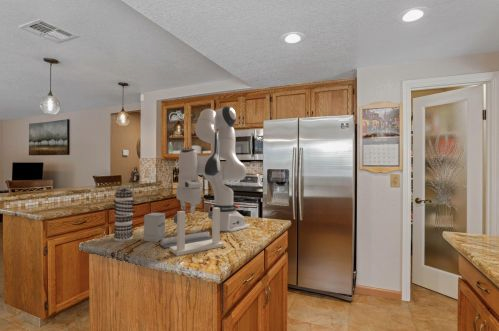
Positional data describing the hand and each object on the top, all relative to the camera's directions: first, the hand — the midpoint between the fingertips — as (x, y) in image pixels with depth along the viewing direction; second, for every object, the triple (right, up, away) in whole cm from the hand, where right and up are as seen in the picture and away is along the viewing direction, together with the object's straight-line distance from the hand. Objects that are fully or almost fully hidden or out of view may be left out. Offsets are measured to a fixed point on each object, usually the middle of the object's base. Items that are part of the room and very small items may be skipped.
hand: (187, 211), depth 127 cm
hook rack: (+6, -15, -9) cm, 19 cm away
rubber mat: (0, -15, 0) cm, 15 cm away
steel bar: (0, -14, 0) cm, 14 cm away
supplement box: (-17, -15, +3) cm, 23 cm away
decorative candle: (-33, -15, +4) cm, 36 cm away
